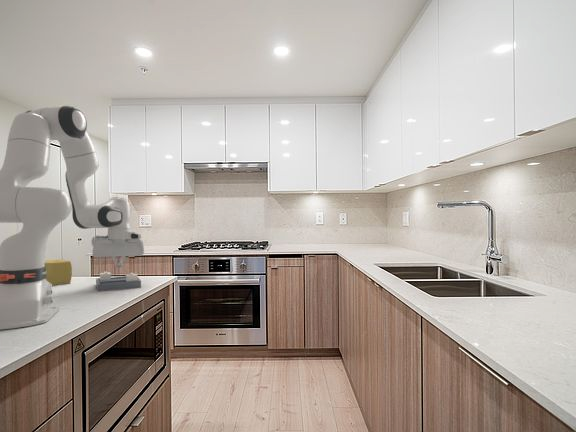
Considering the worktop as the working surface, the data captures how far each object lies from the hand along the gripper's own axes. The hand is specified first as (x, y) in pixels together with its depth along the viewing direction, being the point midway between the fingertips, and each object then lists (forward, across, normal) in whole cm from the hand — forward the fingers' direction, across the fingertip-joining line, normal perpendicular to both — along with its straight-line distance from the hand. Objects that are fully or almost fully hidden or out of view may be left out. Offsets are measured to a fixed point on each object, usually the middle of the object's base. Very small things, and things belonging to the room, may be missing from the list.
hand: (118, 267), depth 152 cm
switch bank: (+8, 0, -3) cm, 8 cm away
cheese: (+8, -24, +16) cm, 30 cm away
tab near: (+6, +4, -7) cm, 10 cm away
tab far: (+6, -5, +1) cm, 8 cm away
